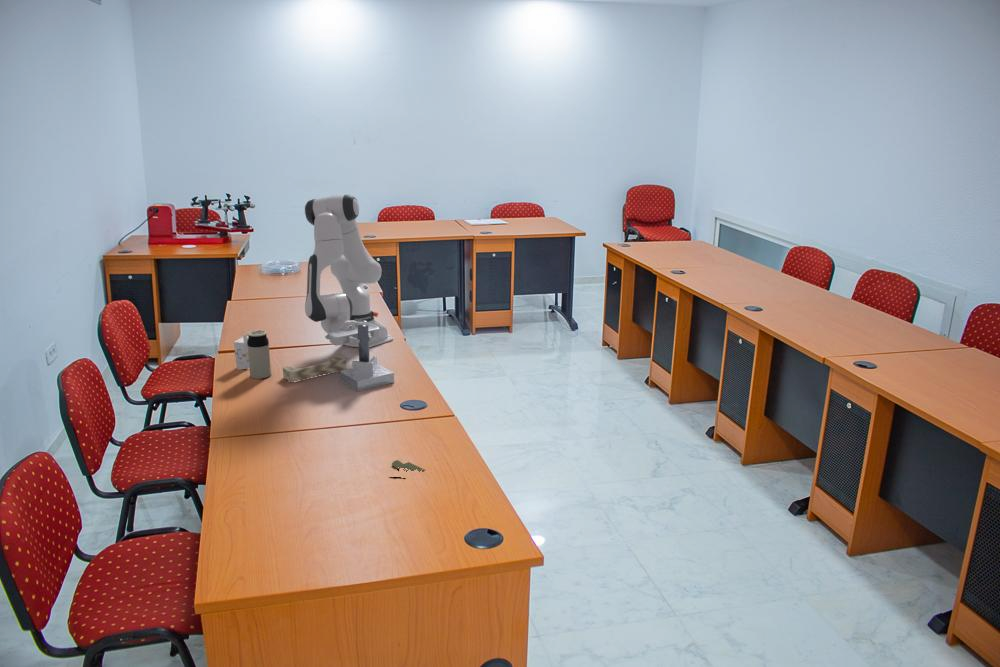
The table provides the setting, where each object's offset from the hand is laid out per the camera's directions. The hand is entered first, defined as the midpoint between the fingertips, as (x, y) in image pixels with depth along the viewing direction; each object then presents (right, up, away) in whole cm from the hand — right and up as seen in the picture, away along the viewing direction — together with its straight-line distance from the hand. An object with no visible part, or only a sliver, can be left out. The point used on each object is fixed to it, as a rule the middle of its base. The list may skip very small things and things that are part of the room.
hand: (364, 340), depth 302 cm
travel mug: (-43, -14, +10) cm, 46 cm away
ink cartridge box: (-52, -11, +20) cm, 56 cm away
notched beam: (-22, -14, +12) cm, 29 cm away
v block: (-1, -16, +6) cm, 17 cm away
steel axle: (-1, -9, +3) cm, 9 cm away
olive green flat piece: (+25, -40, -68) cm, 83 cm away
